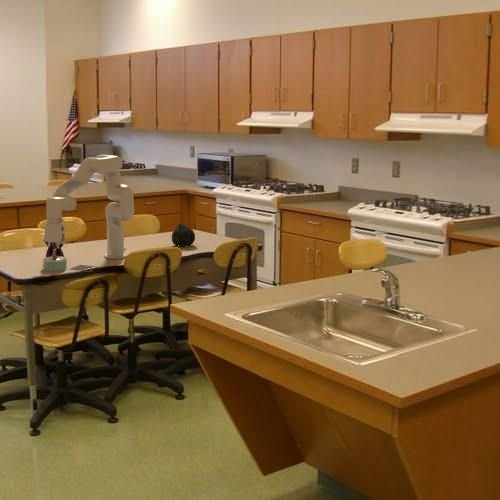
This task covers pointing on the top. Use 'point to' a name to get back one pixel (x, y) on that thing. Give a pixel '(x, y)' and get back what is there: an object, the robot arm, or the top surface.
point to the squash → (183, 235)
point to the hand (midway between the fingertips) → (54, 254)
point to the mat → (81, 267)
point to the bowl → (55, 266)
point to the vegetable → (54, 248)
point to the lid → (54, 258)
